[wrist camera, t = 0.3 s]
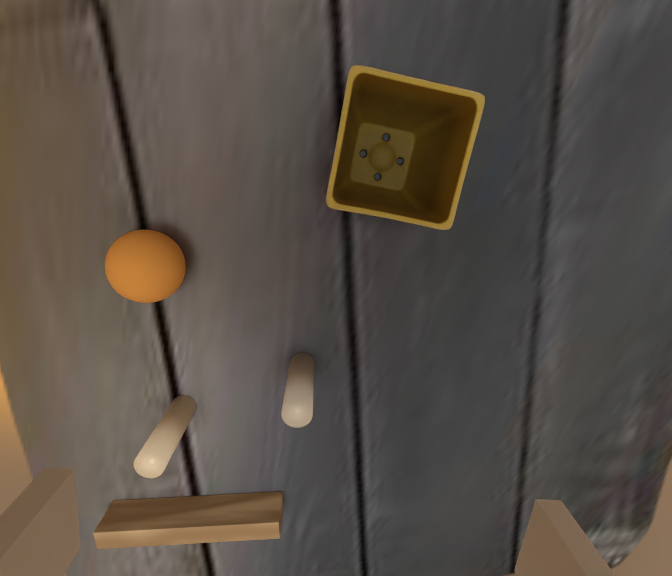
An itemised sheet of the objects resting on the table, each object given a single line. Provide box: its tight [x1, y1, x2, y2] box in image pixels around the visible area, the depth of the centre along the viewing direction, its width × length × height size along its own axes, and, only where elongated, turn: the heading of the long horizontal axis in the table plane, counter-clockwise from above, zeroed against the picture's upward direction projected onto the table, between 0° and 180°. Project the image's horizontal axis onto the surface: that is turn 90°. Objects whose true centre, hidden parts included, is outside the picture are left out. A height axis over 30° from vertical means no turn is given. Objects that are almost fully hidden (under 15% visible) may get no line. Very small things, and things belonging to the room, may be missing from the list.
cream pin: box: [134, 395, 196, 478], centre depth 36 cm, size 2×2×8 cm
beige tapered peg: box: [282, 353, 314, 428], centre depth 35 cm, size 2×2×8 cm
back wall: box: [93, 491, 284, 549], centre depth 42 cm, size 2×18×4 cm, turn 92°
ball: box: [105, 230, 186, 303], centre depth 33 cm, size 6×6×6 cm
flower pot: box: [326, 65, 485, 230], centre depth 30 cm, size 9×9×9 cm
